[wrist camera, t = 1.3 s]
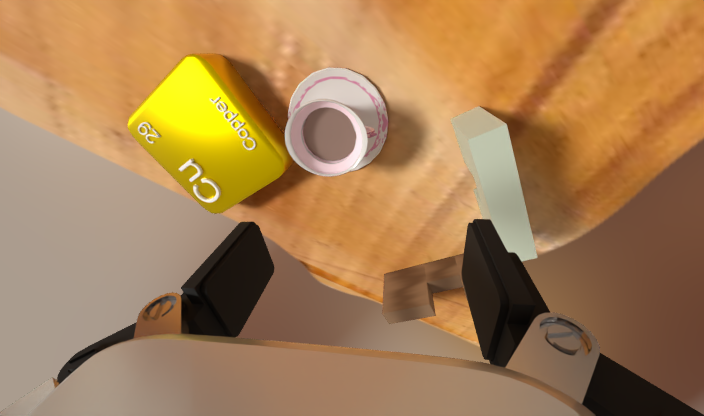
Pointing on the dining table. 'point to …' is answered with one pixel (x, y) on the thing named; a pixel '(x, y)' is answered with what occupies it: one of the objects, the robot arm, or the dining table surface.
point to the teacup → (335, 122)
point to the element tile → (210, 132)
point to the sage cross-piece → (495, 178)
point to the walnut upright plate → (419, 288)
